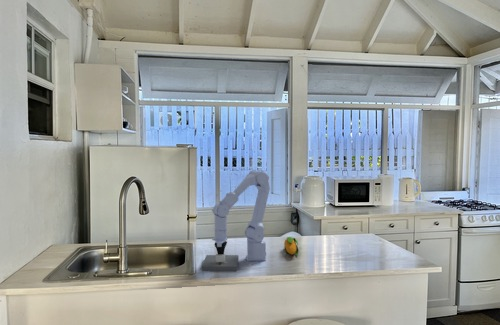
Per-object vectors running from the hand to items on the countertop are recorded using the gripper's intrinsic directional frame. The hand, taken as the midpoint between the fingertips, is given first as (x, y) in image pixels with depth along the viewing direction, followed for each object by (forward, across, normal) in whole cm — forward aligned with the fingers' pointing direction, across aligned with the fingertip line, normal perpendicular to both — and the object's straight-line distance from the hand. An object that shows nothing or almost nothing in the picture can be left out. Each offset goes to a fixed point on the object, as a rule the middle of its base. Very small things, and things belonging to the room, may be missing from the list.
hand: (220, 257), depth 160 cm
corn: (+4, -18, +36) cm, 40 cm away
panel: (+3, 0, 0) cm, 3 cm away
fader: (+1, +2, 0) cm, 3 cm away
